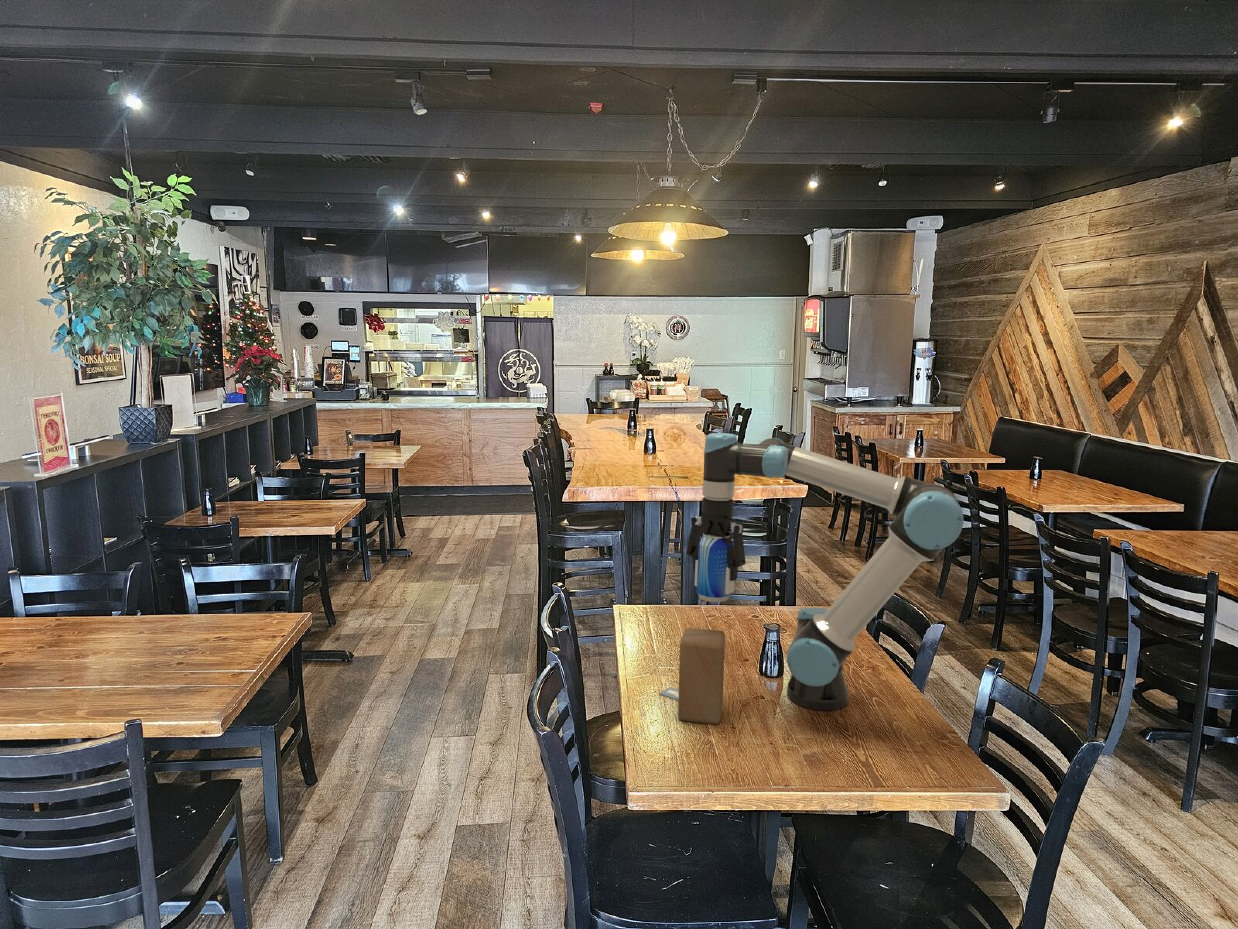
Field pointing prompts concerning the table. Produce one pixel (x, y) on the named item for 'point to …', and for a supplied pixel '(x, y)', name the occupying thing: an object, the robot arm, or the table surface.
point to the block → (701, 675)
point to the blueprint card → (670, 693)
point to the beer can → (712, 568)
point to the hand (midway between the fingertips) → (713, 588)
